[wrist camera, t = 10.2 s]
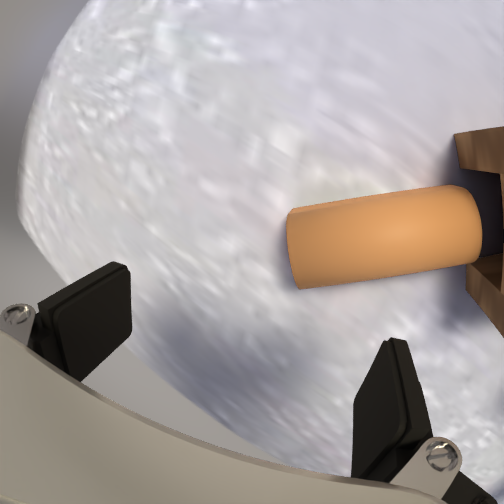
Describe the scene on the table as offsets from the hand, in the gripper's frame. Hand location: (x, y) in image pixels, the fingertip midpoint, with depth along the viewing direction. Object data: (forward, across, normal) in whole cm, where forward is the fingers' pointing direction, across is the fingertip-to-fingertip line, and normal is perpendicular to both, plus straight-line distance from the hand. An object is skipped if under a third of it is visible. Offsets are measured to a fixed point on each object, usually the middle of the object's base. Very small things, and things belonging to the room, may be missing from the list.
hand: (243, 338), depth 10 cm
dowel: (+13, -6, -2) cm, 15 cm away
